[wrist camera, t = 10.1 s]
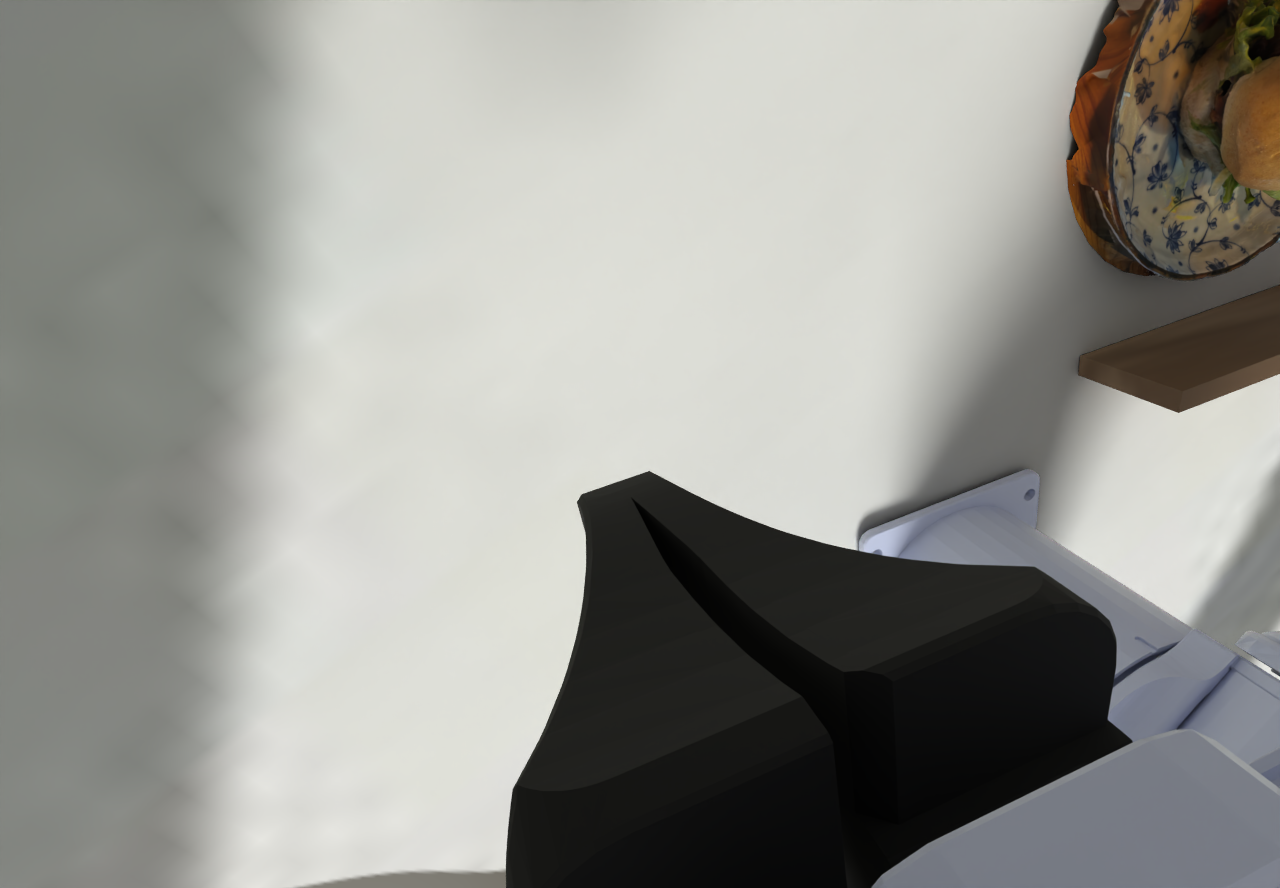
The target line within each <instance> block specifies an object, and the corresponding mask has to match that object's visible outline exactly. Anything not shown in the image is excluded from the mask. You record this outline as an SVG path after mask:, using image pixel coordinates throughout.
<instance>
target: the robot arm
mask: <svg viewBox="0 0 1280 888" xmlns="http://www.w3.org/2000/svg"><path fill="white" fill-rule="evenodd" d="M1039 487H1040V476H1039V474H1038V473H1036V472H1034V471H1033V470H1030V469H1025V470H1022V471H1020V472H1017V473H1014V474H1012V475H1009V476H1007V477H1004V478H1001V479H999V480H996V481H994V482H991V483H988V484H986V485H983V486H981V487H978V488H976V489H973V490H970V491H968V492H965V493H963V494H960V495H957V496H955V497H952V498H950V499H947V500H944V501H942V502H939V503H937V504H934V505H931V506H929V507H926V508H924V509H921V510H919V511H916V512H913V513H911V514H908V515H906V516H903V517H900V518H898V519H895V520H893V521H890V522H887V523H885V524H882V525H880V526H877V527H875V528H872V529H870V530H868V531H866V532H865V533H864V534H863V535H862V536H861V538H860V540H859V551H857V550H851V549H846V548H842V547H837V546H833V545H829V544H825V543H821V542H817V541H814V540H810V539H807V538H803V537H800V536H796V535H793V534H789V533H786V532H783V531H780V530H777V529H774V528H771V527H769V526H766V525H764V524H761V523H758V522H756V521H753V520H750V519H748V518H745V517H743V516H740V515H738V514H736V513H733V512H731V511H729V510H726V509H724V508H722V507H720V506H717V505H715V504H713V503H711V502H709V501H707V500H705V499H703V498H701V497H699V496H696V495H694V494H692V493H691V492H689V491H687V490H685V489H683V488H681V487H679V486H677V485H675V484H673V483H671V482H669V481H667V480H665V479H664V478H662V477H660V476H658V475H656V474H654V473H652V472H650V471H648V472H645V473H642V474H640V475H637V476H634V477H631V478H628V479H625V480H622V481H619V482H616V483H613V484H610V485H608V486H605V487H602V488H599V489H596V490H593V491H590V492H587V493H584V494H582V495H581V497H580V498H579V500H578V501H577V504H578V508H579V511H580V515H581V518H582V522H583V525H584V529H585V532H586V575H585V586H584V597H583V604H582V610H581V616H580V622H579V626H578V631H577V636H576V640H575V644H574V647H573V651H572V655H571V658H570V662H569V665H568V669H567V672H566V675H565V678H564V681H563V684H562V687H561V689H560V692H559V694H558V697H557V699H556V702H555V704H554V707H553V709H552V712H551V714H550V716H549V719H548V721H547V724H546V726H545V729H544V731H543V733H542V735H541V737H540V739H539V741H538V743H537V745H536V747H535V749H534V751H533V753H532V754H531V756H530V758H529V760H528V762H527V764H526V766H525V768H524V769H523V771H522V773H521V775H520V777H519V779H518V781H517V783H516V784H515V786H514V788H513V792H512V799H511V808H510V817H509V826H508V838H507V852H506V888H1280V680H1278V679H1277V678H1275V677H1273V676H1272V675H1270V674H1269V673H1267V672H1266V671H1264V670H1262V669H1261V668H1259V667H1258V666H1256V665H1254V664H1253V663H1251V662H1250V661H1248V660H1246V659H1245V658H1243V657H1242V656H1240V655H1238V654H1237V653H1235V652H1234V651H1232V650H1230V649H1229V648H1227V647H1226V646H1224V645H1222V644H1221V643H1219V642H1218V641H1216V640H1214V639H1213V638H1211V637H1210V636H1208V635H1206V634H1205V633H1203V632H1202V631H1200V630H1198V629H1192V628H1191V627H1189V626H1188V625H1186V624H1185V623H1183V622H1181V621H1180V620H1178V619H1177V618H1175V617H1173V616H1172V615H1170V614H1169V613H1167V612H1166V611H1164V610H1162V609H1161V608H1159V607H1158V606H1156V605H1155V604H1153V603H1151V602H1150V601H1148V600H1147V599H1145V598H1144V597H1142V596H1140V595H1139V594H1137V593H1136V592H1134V591H1133V590H1131V589H1129V588H1128V587H1126V586H1125V585H1123V584H1122V583H1120V582H1118V581H1117V580H1115V579H1114V578H1112V577H1110V576H1109V575H1107V574H1106V573H1104V572H1103V571H1101V570H1099V569H1098V568H1096V567H1095V566H1093V565H1092V564H1090V563H1088V562H1087V561H1085V560H1084V559H1082V558H1081V557H1079V556H1077V555H1076V554H1074V553H1073V552H1071V551H1070V550H1068V549H1066V548H1065V547H1063V546H1062V545H1060V544H1059V543H1057V542H1055V541H1054V540H1052V539H1051V538H1049V537H1047V536H1046V535H1044V534H1043V533H1041V532H1040V531H1038V530H1036V523H1037V511H1038V499H1039ZM875 550H876V551H875ZM873 551H875V552H874V553H873ZM1235 645H1236V646H1237V647H1239V648H1240V649H1242V650H1243V651H1245V652H1247V653H1248V654H1250V655H1251V656H1253V657H1255V658H1256V659H1258V660H1259V661H1261V662H1262V663H1264V664H1266V665H1267V666H1269V667H1270V668H1272V669H1271V671H1272V672H1274V673H1275V674H1277V675H1278V676H1280V631H1273V632H1263V633H1262V634H1259V633H1257V632H1254V631H1247V632H1245V633H1244V634H1243V636H1242V637H1241V638H1240V639H1239V640H1238V641H1237V643H1236V644H1235Z"/></svg>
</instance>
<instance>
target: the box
mask: <svg viewBox="0 0 1280 888" xmlns="http://www.w3.org/2000/svg"><path fill="white" fill-rule="evenodd" d="M1278 374H1280V285H1278V286H1275V287H1272V288H1270V289H1267V290H1264V291H1261V292H1258V293H1256V294H1253V295H1250V296H1247V297H1244V298H1241V299H1239V300H1236V301H1233V302H1230V303H1227V304H1225V305H1222V306H1219V307H1216V308H1213V309H1211V310H1208V311H1205V312H1202V313H1199V314H1197V315H1194V316H1191V317H1188V318H1185V319H1182V320H1180V321H1177V322H1174V323H1171V324H1168V325H1166V326H1163V327H1160V328H1157V329H1154V330H1152V331H1149V332H1146V333H1143V334H1140V335H1137V336H1135V337H1132V338H1129V339H1126V340H1123V341H1121V342H1118V343H1115V344H1112V345H1109V346H1107V347H1104V348H1101V349H1098V350H1095V351H1092V352H1090V353H1087V354H1084V355H1081V356H1080V363H1079V373H1078V375H1079V376H1082V377H1085V378H1087V379H1090V380H1093V381H1095V382H1098V383H1101V384H1103V385H1106V386H1109V387H1111V388H1114V389H1117V390H1119V391H1122V392H1125V393H1127V394H1130V395H1132V396H1135V397H1138V398H1140V399H1143V400H1146V401H1148V402H1151V403H1154V404H1156V405H1159V406H1162V407H1164V408H1167V409H1170V410H1172V411H1175V412H1178V413H1180V412H1182V411H1185V410H1187V409H1190V408H1193V407H1195V406H1198V405H1200V404H1203V403H1205V402H1208V401H1211V400H1213V399H1216V398H1218V397H1221V396H1224V395H1226V394H1229V393H1231V392H1234V391H1236V390H1239V389H1242V388H1244V387H1247V386H1249V385H1252V384H1255V383H1257V382H1260V381H1262V380H1265V379H1267V378H1270V377H1273V376H1275V375H1278Z"/></svg>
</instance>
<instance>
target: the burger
mask: <svg viewBox="0 0 1280 888" xmlns="http://www.w3.org/2000/svg"><path fill="white" fill-rule="evenodd" d="M1118 3H1119V6H1120V7H1119V8H1118V9H1117V11H1116V12H1115V14H1114V18H1113V19H1112V21H1111V22H1110V23H1109V24H1108V25H1107V26H1106V27H1105V29H1104V30H1103V32H1104V34H1105V35H1106V37H1107V41H1106V44H1105V45H1104V47H1103V49H1102V50H1101V52H1100V54H1099V58H1098V61H1097V64H1096V66H1095V67H1093V68H1092V69H1091V70H1090V71H1088V72H1086V73H1085V74H1084V75H1083V76H1082V77H1081V78H1080V79H1079V80H1078V82H1077V86H1076V89H1075V92H1076V102H1075V104H1074V106H1073V109H1072V112H1071V113H1070V127H1071V131H1072V134H1073V136H1074V139H1075V141H1076V143H1077V145H1078V148H1079V150H1078V151H1077V152H1076V153H1075V154H1074V156H1073V158H1072V160H1066V162H1067V176H1068V190H1069V194H1070V197H1071V202H1072V206H1073V209H1074V213H1075V216H1076V220H1077V222H1078V223H1079V226H1080V227H1081V229H1082V231H1083V233H1084V235H1085V237H1086V238H1087V241H1088V243H1089V244H1090V245H1091V246H1092V247H1093V248H1094V249H1095V250H1096V251H1097V253H1098V254H1099V255H1100V256H1101V257H1102V258H1103V259H1104V260H1105V261H1106V262H1108V263H1110V264H1111V265H1113V266H1115V267H1117V268H1118V269H1120V270H1122V271H1124V272H1128V273H1133V274H1138V275H1143V276H1149V275H1151V276H1152V275H1159V276H1160V277H1165V278H1169V279H1174V280H1179V281H1193V280H1197V279H1203V278H1209V277H1214V276H1218V275H1222V274H1225V273H1227V272H1230V271H1232V270H1234V269H1236V268H1239V267H1240V266H1243V265H1245V264H1246V263H1248V262H1249V261H1250V260H1251V259H1253V258H1254V257H1256V256H1257V255H1258V254H1259V253H1261V252H1263V251H1264V250H1265V249H1267V248H1269V247H1270V246H1272V245H1273V244H1274V243H1277V242H1278V241H1279V240H1280V0H1118ZM1073 184H1074V186H1073ZM1148 271H1149V272H1148ZM1145 273H1146V274H1145ZM1154 273H1155V274H1154Z"/></svg>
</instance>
